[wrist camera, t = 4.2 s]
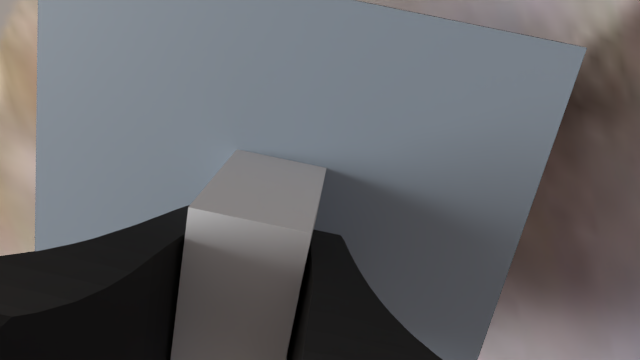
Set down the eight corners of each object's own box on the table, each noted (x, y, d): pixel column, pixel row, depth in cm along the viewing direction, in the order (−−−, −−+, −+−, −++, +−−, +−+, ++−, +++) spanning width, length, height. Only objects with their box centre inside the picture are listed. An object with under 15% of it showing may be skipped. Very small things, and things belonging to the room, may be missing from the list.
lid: (575, 45, 11) (684, 71, 7) (436, 449, 15) (460, 606, 11) (55, -61, 11) (-102, -90, 7) (45, 365, 15) (-63, 491, 11)
